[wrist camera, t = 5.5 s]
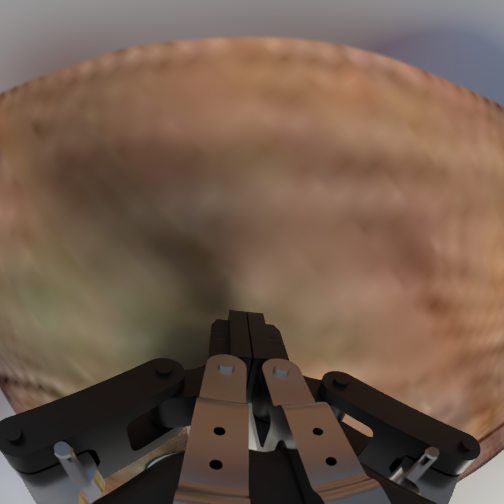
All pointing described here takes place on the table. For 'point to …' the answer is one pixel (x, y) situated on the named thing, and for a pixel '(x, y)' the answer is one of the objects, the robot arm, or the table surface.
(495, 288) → the table surface
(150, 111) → the table surface
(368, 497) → the robot arm
